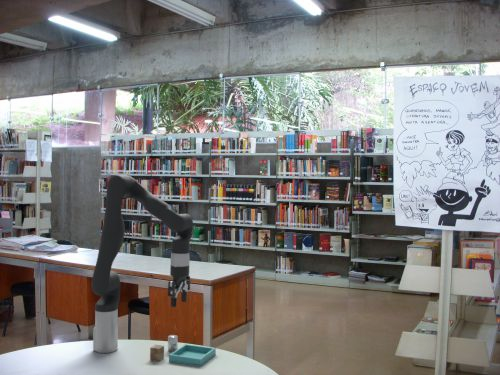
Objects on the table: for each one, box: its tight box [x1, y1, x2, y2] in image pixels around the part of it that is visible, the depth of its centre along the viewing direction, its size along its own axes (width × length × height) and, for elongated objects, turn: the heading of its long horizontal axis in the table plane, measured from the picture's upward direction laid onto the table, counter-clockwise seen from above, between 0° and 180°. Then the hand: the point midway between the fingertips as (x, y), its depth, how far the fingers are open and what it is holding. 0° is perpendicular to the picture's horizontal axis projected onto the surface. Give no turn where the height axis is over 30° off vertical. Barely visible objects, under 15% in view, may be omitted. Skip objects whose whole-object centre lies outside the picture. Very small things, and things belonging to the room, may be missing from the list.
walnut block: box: [149, 344, 165, 362], centre depth 204 cm, size 4×4×5 cm
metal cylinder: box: [167, 334, 179, 353], centre depth 214 cm, size 4×4×6 cm
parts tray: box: [168, 343, 217, 367], centre depth 205 cm, size 14×14×3 cm
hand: (178, 304), depth 201 cm, fingers open, 8 cm apart
